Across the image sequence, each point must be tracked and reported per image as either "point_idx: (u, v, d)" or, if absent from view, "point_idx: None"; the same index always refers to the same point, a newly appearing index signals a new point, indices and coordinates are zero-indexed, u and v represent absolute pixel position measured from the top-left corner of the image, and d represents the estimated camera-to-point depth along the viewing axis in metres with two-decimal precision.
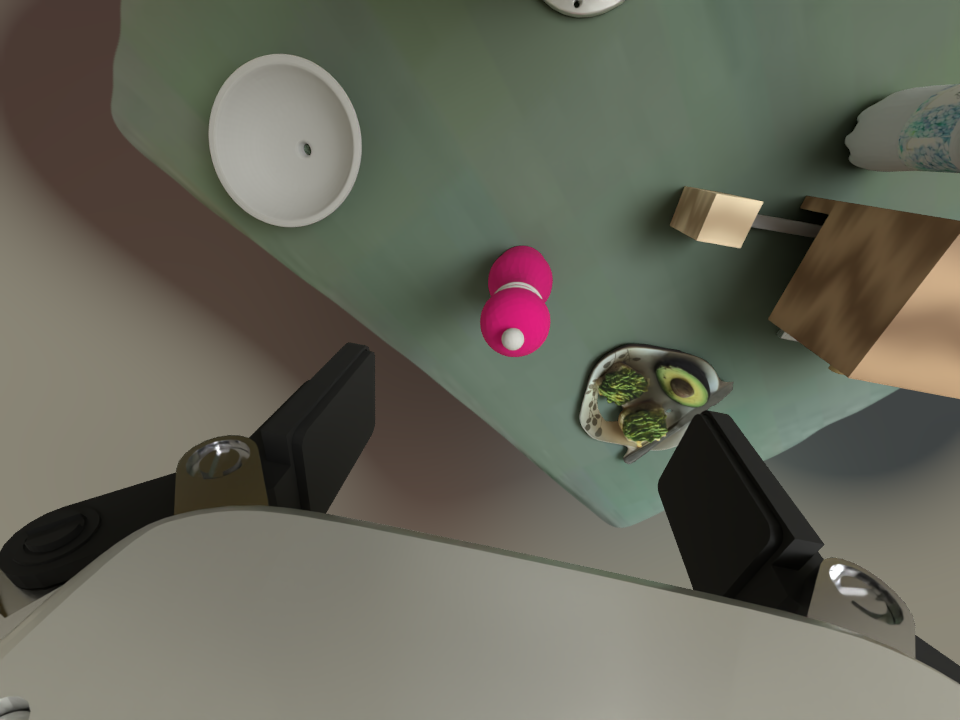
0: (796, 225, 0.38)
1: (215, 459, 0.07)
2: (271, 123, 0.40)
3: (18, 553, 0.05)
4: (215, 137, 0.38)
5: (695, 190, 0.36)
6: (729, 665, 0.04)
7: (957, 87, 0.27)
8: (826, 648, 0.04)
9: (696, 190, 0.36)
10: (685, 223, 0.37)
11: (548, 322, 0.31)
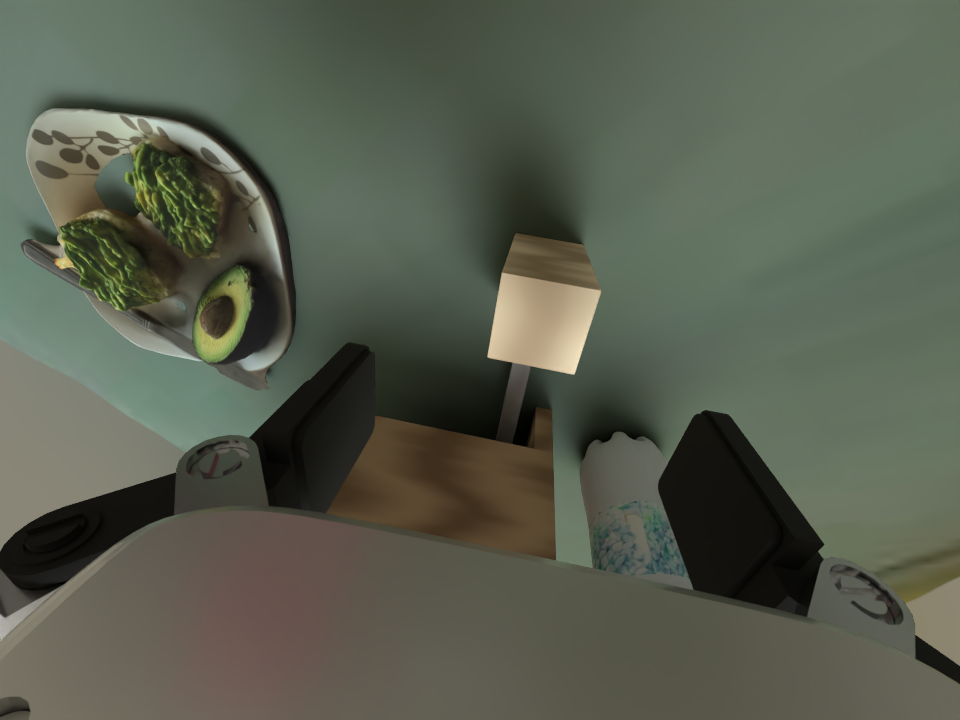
0: (514, 411, 0.26)
1: (214, 459, 0.07)
2: None
3: (19, 553, 0.05)
4: None
5: (586, 258, 0.19)
6: (729, 665, 0.04)
7: None
8: (825, 648, 0.04)
9: (587, 260, 0.19)
10: (528, 252, 0.18)
11: None
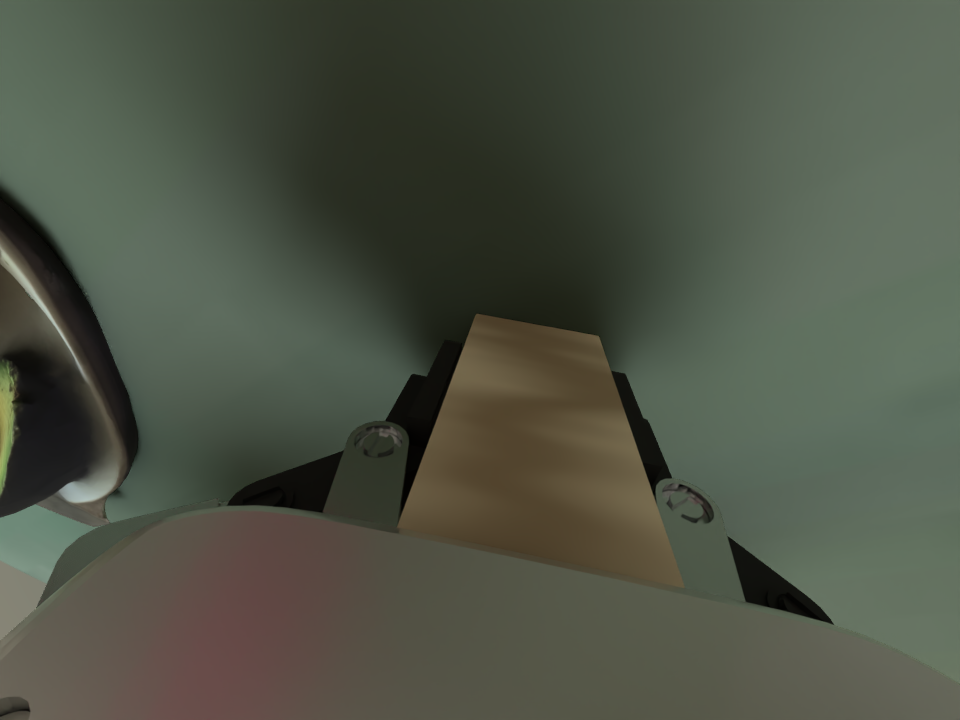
0: None
1: (376, 439, 0.08)
2: None
3: None
4: None
5: (612, 390, 0.09)
6: (728, 665, 0.04)
7: None
8: (825, 648, 0.04)
9: (614, 396, 0.09)
10: (490, 388, 0.08)
11: None
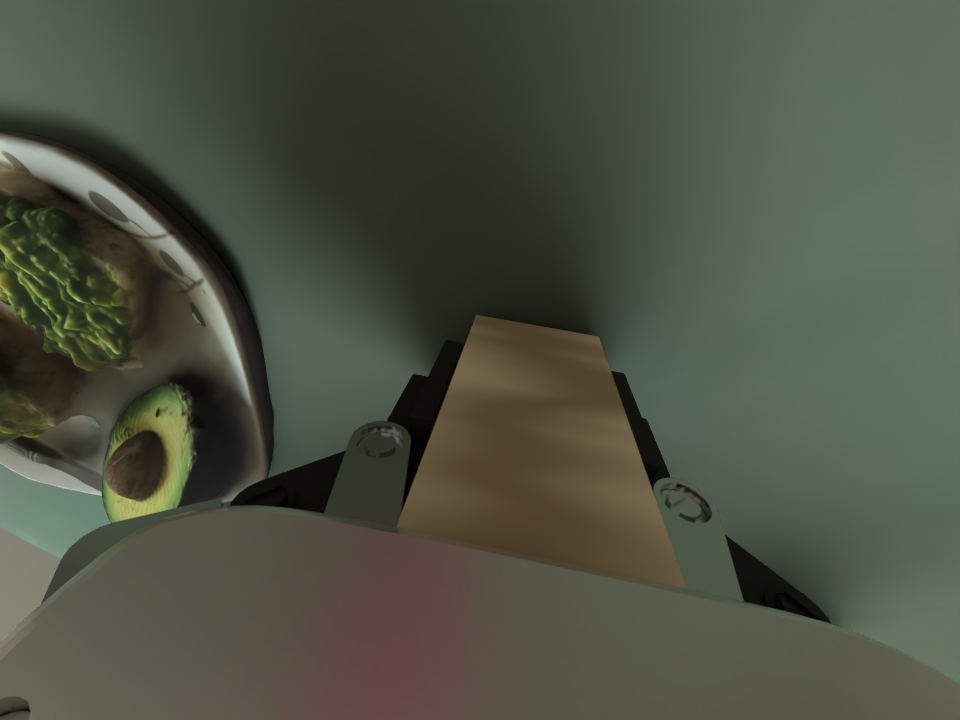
0: None
1: (378, 439, 0.08)
2: None
3: None
4: None
5: (611, 390, 0.09)
6: (729, 665, 0.04)
7: None
8: (825, 648, 0.04)
9: (614, 396, 0.09)
10: (490, 388, 0.08)
11: None
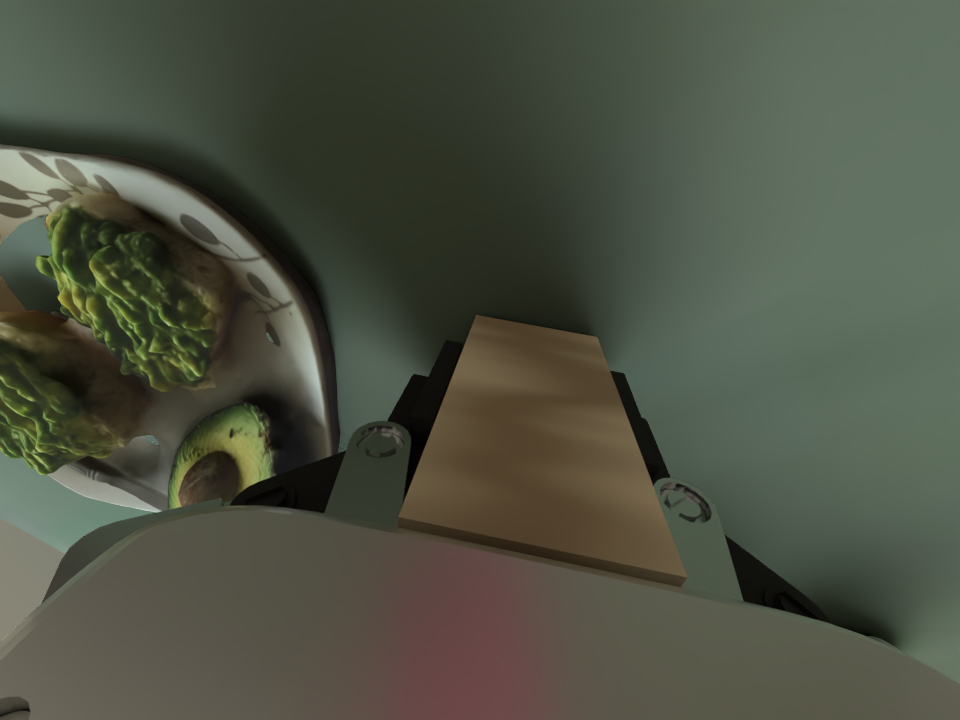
0: None
1: (378, 439, 0.08)
2: None
3: None
4: None
5: (611, 388, 0.09)
6: (729, 665, 0.04)
7: None
8: (826, 648, 0.04)
9: (613, 393, 0.09)
10: (490, 384, 0.09)
11: None
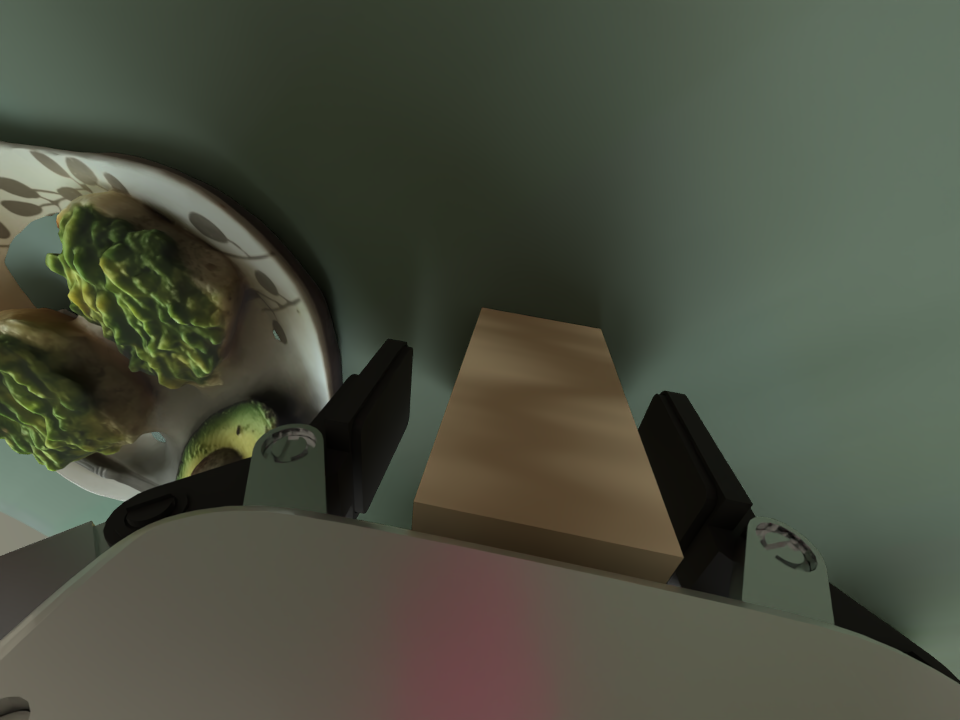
0: None
1: (286, 444, 0.07)
2: None
3: (121, 528, 0.06)
4: None
5: (614, 379, 0.10)
6: (729, 665, 0.04)
7: None
8: (826, 648, 0.04)
9: (616, 384, 0.09)
10: (497, 376, 0.09)
11: None
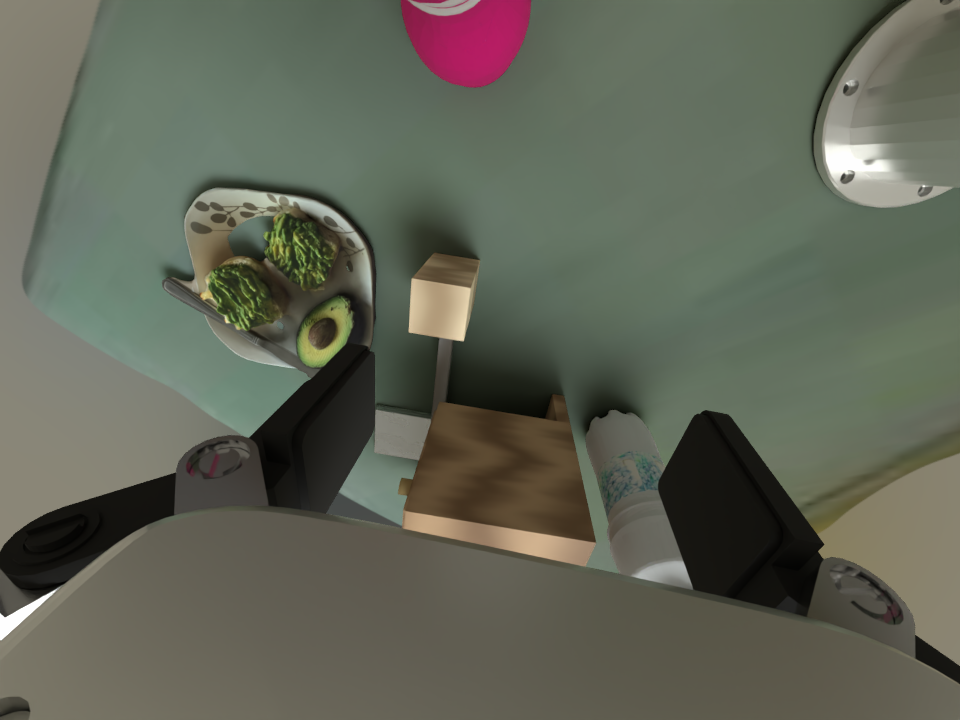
0: (443, 380, 0.36)
1: (214, 459, 0.07)
2: None
3: (19, 553, 0.05)
4: None
5: (475, 269, 0.29)
6: (729, 665, 0.04)
7: None
8: (826, 648, 0.04)
9: (475, 270, 0.29)
10: (435, 266, 0.28)
11: None
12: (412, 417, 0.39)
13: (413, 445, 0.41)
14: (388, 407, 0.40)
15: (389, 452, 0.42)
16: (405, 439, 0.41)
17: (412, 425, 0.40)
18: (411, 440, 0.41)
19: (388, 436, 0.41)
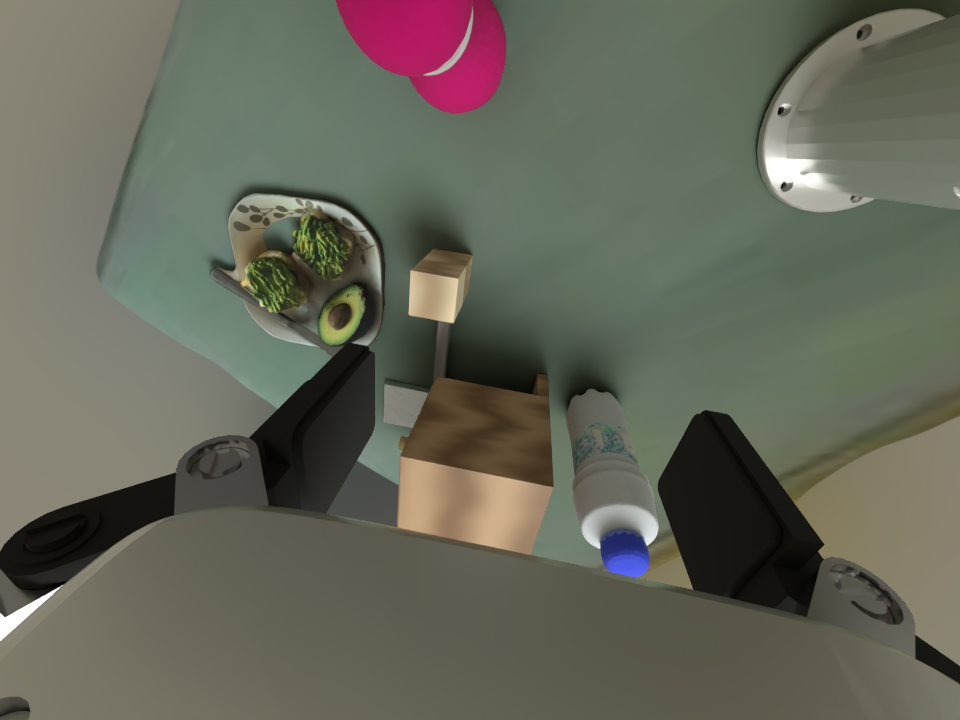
0: (442, 359, 0.42)
1: (214, 459, 0.07)
2: None
3: (19, 553, 0.05)
4: None
5: (466, 263, 0.34)
6: (728, 665, 0.04)
7: (631, 443, 0.36)
8: (825, 648, 0.04)
9: (466, 264, 0.34)
10: (432, 260, 0.34)
11: (416, 65, 0.17)
12: (416, 392, 0.45)
13: (417, 416, 0.47)
14: (395, 382, 0.46)
15: (396, 422, 0.48)
16: (410, 411, 0.47)
17: (416, 398, 0.46)
18: (415, 412, 0.47)
19: (395, 407, 0.47)
